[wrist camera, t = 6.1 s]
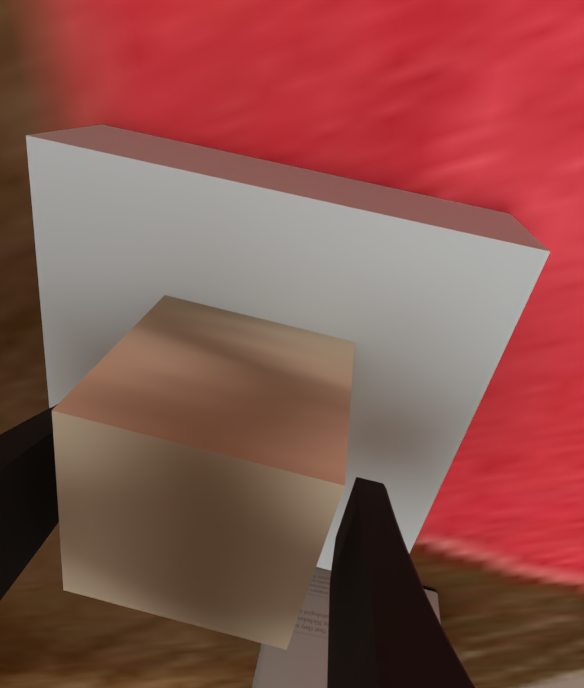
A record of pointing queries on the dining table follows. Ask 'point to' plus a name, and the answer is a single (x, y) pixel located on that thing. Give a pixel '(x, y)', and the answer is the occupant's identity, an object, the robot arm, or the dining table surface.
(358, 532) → the robot arm
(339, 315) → the grey block
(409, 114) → the dining table surface
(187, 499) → the birch cube
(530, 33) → the dining table surface
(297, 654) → the supplement box
